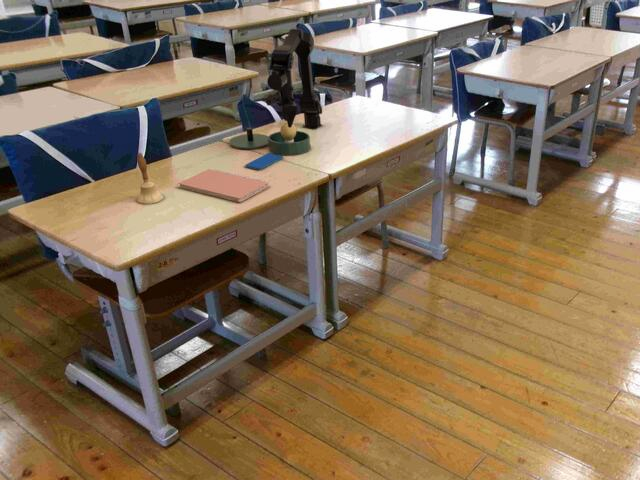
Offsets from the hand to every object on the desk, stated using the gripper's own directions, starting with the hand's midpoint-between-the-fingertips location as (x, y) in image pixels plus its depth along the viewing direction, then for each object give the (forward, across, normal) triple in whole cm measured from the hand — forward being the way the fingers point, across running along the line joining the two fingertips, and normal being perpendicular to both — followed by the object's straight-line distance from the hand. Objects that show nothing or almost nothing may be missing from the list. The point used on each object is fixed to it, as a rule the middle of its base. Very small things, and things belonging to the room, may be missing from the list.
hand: (287, 124), depth 252 cm
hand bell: (+10, +38, -54) cm, 66 cm away
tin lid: (+10, -11, -14) cm, 21 cm away
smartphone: (+10, +14, -12) cm, 21 cm away
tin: (+10, 0, 0) cm, 10 cm away
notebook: (+10, +34, -29) cm, 46 cm away
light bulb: (+10, 0, 0) cm, 10 cm away
